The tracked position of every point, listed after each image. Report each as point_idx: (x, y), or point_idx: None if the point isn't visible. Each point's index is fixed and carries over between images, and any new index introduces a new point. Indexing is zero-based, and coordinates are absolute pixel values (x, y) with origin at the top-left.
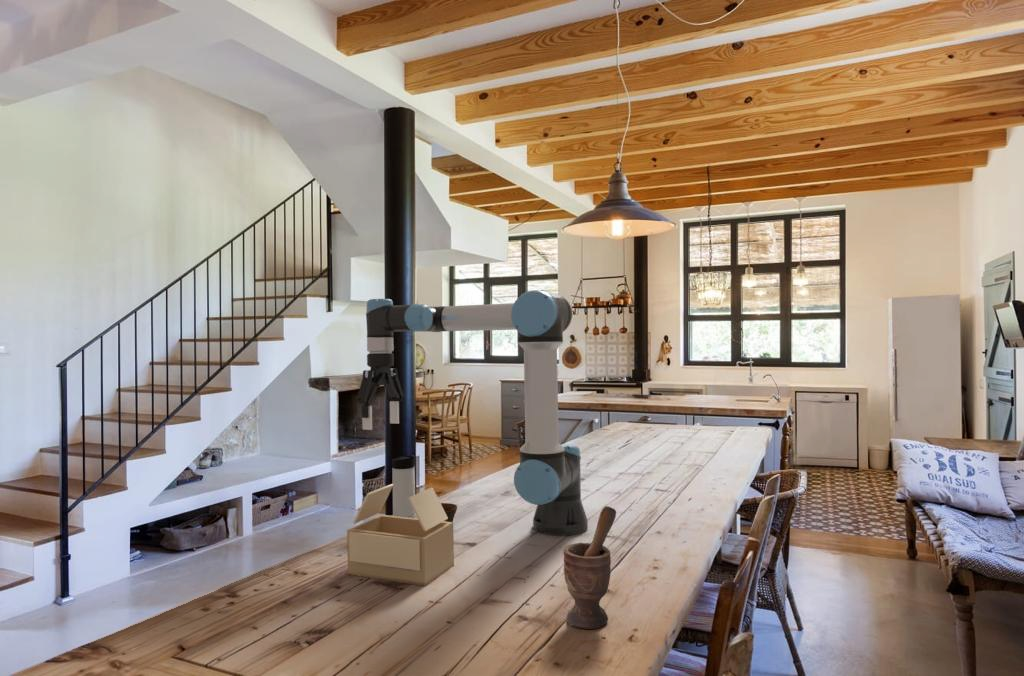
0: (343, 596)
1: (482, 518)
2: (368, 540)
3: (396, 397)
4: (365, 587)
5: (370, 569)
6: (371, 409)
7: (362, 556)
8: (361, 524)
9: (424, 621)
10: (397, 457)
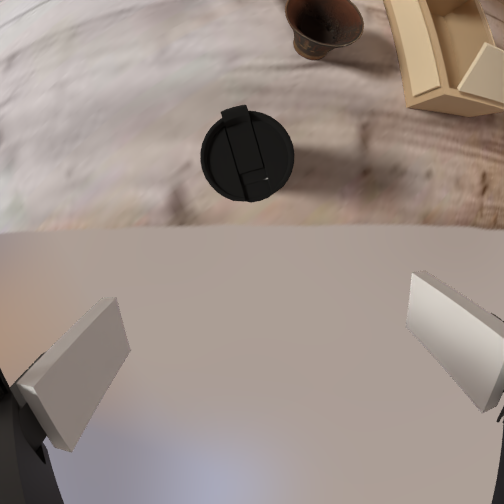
0: None
1: (136, 60)
2: None
3: (15, 423)
4: None
5: None
6: (496, 326)
7: None
8: (488, 101)
9: (484, 4)
10: (235, 197)
